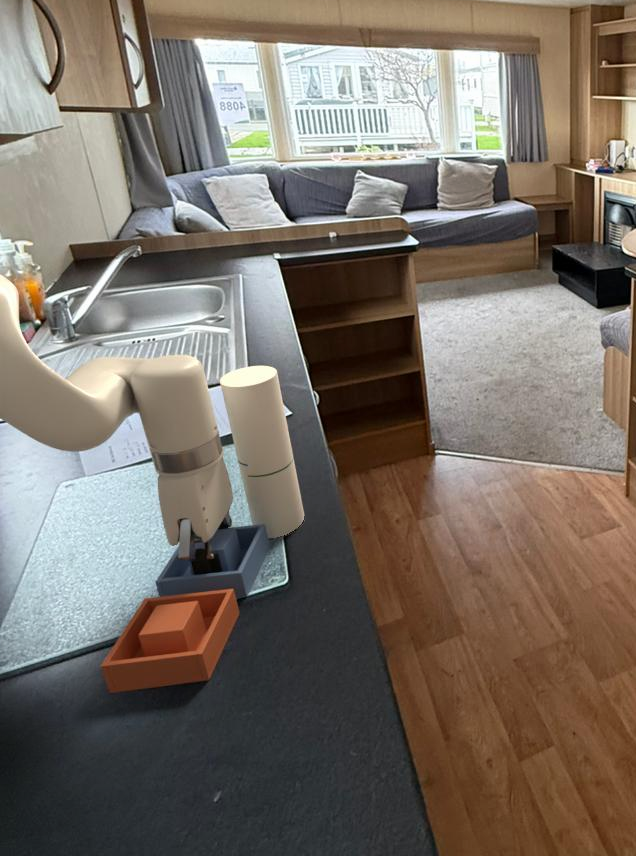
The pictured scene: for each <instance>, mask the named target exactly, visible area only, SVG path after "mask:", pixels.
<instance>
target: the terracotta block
mask: <svg viewBox="0 0 636 856" xmlns="http://www.w3.org/2000/svg"><path fill="white" fill-rule="evenodd" d="M205 631H206V627H205V624H204V620H203V616H202V613H201V609H200V606H199V602H198V601H192V602H183V603H174V604H165V605H157V606H156V608H155V609H154V611H153V612H152V614H151V616H150V617H149V619H148V620H147V622H146V624H145V625H144V627H143V629H142V630H141V632H140V633H139V639H140V642H141V645H142V648H143V651H144V654H145V657H150V656H158V655H166V654H174V653H182V652H190V651H196V649H197V647H198V645H199V643H200V641H201V639H202V637H203V635H204V633H205Z"/></svg>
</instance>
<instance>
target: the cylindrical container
mask: <svg viewBox="0 0 636 856" xmlns="http://www.w3.org/2000/svg"><path fill="white" fill-rule="evenodd" d="M278 375H279V374H278V370H277V369H276V368H275V367H273V366H270V365H251V366H246V367H245V366H244V367H240V368H237V369H234V370H231V371H228V372H227V373H225V374H224V375H223V376H221V377H220V379H219V384H220V388H221V389H220V390H221V392H222V397H223V401H224V406H225V411H226V416H227V418H228V424H229V427H230V432H231V433H230V434H231V436H232V441H233V446H234V450H235V454H236V455H235V456H236V459H237V463H238V468H239V472H240V476H241V480H242V485H243V489H244V494H245V499H246V503H247V506H248V507H247V508H248V512H249V516H250V521H251V524H252V525H261V524H265V527H266V531H267V536H268V538H273V539H278V538H277V537H279V538H281V537H280V536H283V537H285V536H288V535H290V534H291V533H290V532H292V531H294V530H295V529H297V528H298V527H299V526H300V525H301V524H302V522H303V520H304V516H305V511H304V505H303V501H302V495H301V490H300V484H299V480H298V475H297V470H296V469H297V468H296V464H295V458H294V453H293V448H292V443H291V438H290V433H289V427H288V422H287V415H286V411H285V406H284V402H283V401H284V400H283V396H282V391H281V385H280V381H279V376H278ZM304 521H305V520H304ZM302 525H303V524H302ZM302 525H301V526H302ZM301 526H300V527H301ZM300 527H299V528H300ZM299 528H298V529H299ZM298 529H297V530H298ZM294 532H295V531H294ZM289 533H290V534H289ZM292 533H293V532H292ZM287 534H288V535H287ZM284 535H285V536H284Z"/></svg>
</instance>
